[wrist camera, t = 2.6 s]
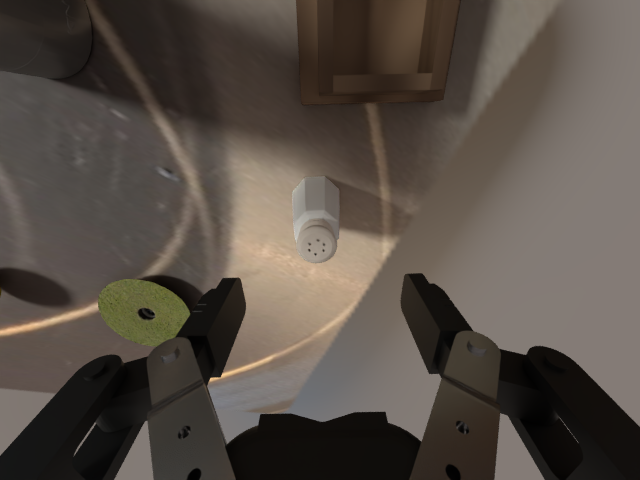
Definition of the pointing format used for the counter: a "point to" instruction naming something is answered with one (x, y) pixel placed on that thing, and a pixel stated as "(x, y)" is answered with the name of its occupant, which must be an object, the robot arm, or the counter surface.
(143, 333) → the green abrasive disc
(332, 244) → the salt shaker
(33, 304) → the counter surface
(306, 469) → the robot arm
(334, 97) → the brown open tray piece
